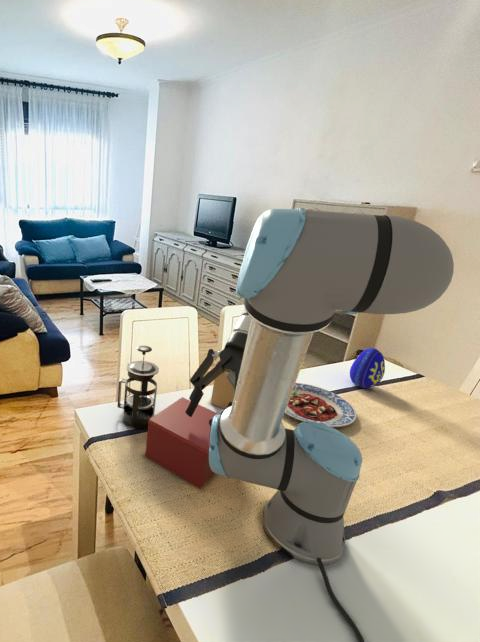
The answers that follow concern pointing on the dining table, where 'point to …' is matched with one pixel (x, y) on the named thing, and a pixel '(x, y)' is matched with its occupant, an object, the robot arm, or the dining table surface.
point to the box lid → (187, 423)
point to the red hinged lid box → (178, 456)
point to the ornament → (368, 368)
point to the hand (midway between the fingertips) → (203, 422)
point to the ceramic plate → (319, 406)
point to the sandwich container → (223, 389)
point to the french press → (139, 392)
